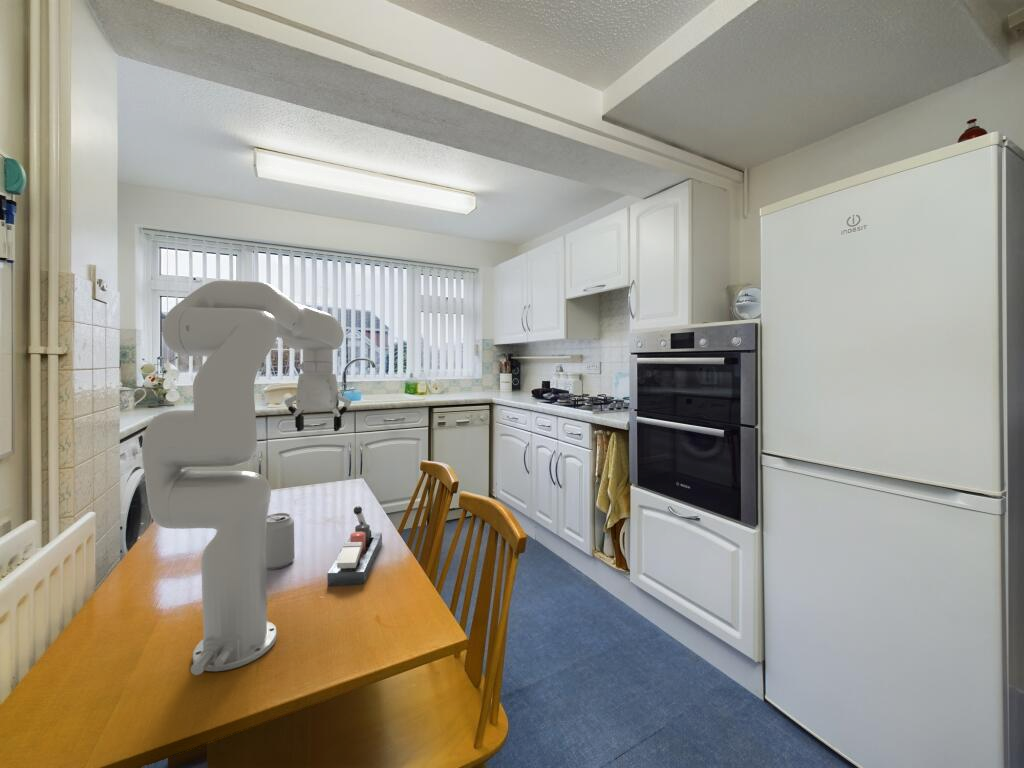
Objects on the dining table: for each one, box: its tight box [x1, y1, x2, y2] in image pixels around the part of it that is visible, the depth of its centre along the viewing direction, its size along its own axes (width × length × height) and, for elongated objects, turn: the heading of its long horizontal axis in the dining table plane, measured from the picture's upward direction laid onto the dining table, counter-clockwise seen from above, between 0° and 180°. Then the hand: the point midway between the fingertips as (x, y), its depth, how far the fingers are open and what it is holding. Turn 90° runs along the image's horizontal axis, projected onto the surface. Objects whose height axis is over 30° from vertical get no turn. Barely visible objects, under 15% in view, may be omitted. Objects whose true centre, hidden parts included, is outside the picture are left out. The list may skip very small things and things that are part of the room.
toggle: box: [353, 505, 367, 525], centre depth 118 cm, size 2×2×7 cm
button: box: [349, 531, 367, 554], centre depth 110 cm, size 4×4×4 cm
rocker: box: [337, 542, 362, 569], centre depth 102 cm, size 7×4×2 cm, turn 6°
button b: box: [354, 523, 371, 546], centre depth 115 cm, size 4×4×4 cm
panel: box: [326, 529, 383, 587], centre depth 109 cm, size 22×8×4 cm, turn 6°
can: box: [266, 512, 295, 570], centre depth 108 cm, size 8×8×12 cm
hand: (318, 430), depth 120 cm, fingers open, 9 cm apart
